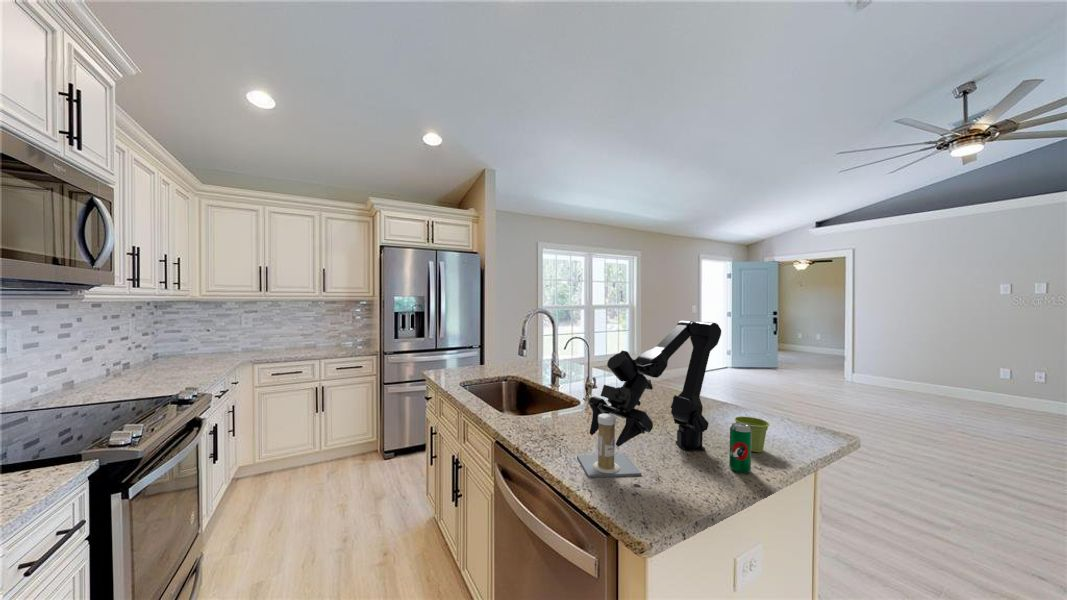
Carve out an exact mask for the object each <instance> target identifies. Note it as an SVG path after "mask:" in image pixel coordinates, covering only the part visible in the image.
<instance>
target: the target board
mask: <svg viewBox="0 0 1067 600" xmlns="http://www.w3.org/2000/svg"><path fill="white" fill-rule="evenodd" d="M576 458H577V459H578V462H579V464H580V465H581V467H582V469H583V471H584V472H585V474H586V476H587V478H588V477H589V478H608V477H609V478H610V477H613V478H614V477H636V476H637V477H638V476H639V477H641V476H642V471H640V469H639V468H638V467H637V466H636V465H635V464H634V463H633V461H632V460H631V459H630V458H629V457H628V456H627V455H626V454H625V453H615V454H614V464H615V466H614V468H612V469H603V468H600V467H599V466H598V454H577V455H576Z"/></svg>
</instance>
